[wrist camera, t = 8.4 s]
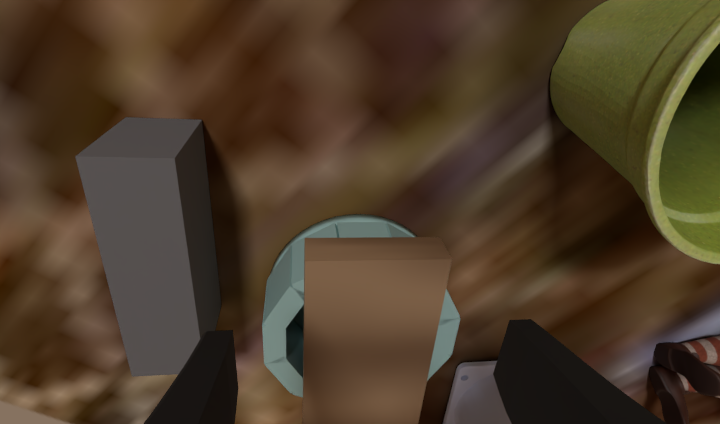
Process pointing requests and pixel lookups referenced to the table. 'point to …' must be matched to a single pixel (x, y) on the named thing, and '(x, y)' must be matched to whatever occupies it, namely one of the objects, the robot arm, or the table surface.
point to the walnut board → (370, 327)
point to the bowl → (288, 299)
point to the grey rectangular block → (155, 237)
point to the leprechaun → (685, 374)
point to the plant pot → (651, 108)
